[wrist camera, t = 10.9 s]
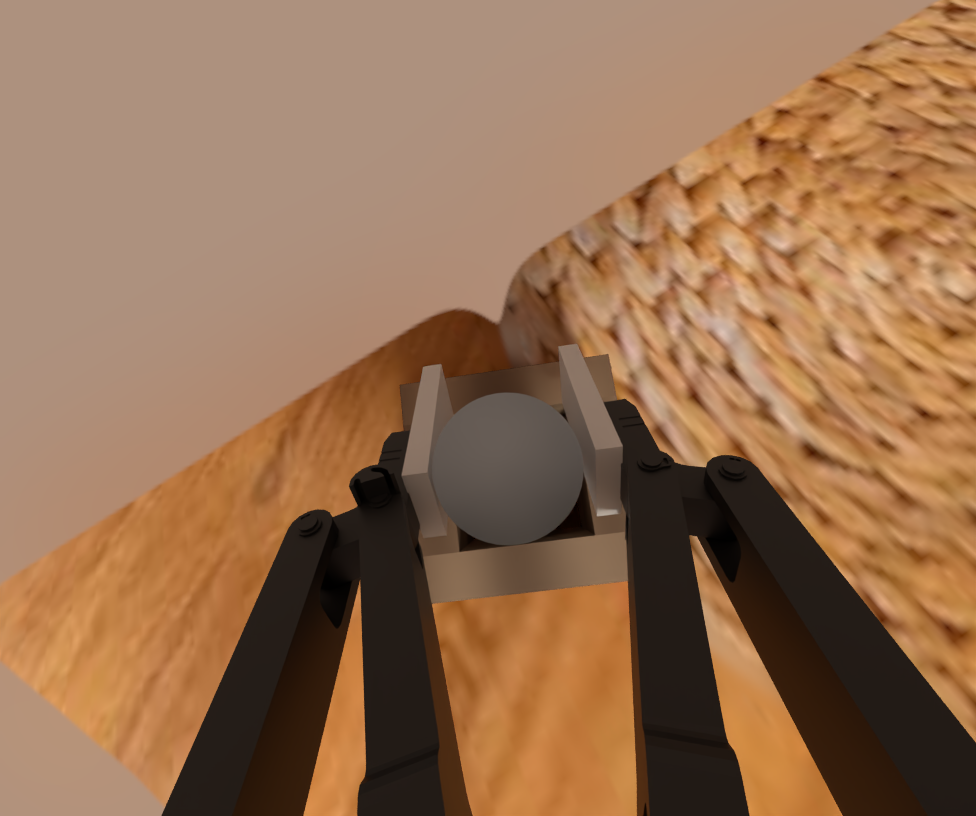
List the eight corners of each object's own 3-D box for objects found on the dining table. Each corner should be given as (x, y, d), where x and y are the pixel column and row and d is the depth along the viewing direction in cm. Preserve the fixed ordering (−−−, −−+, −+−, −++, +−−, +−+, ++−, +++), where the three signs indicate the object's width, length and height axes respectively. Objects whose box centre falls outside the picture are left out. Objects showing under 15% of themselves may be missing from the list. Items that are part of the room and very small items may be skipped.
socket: (592, 380, 25) (608, 354, 21) (625, 560, 24) (650, 578, 19) (423, 404, 26) (399, 384, 21) (441, 581, 24) (419, 604, 19)
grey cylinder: (551, 436, 24) (570, 382, 12) (563, 512, 23) (596, 535, 11) (478, 446, 24) (424, 403, 12) (487, 521, 23) (440, 554, 11)
